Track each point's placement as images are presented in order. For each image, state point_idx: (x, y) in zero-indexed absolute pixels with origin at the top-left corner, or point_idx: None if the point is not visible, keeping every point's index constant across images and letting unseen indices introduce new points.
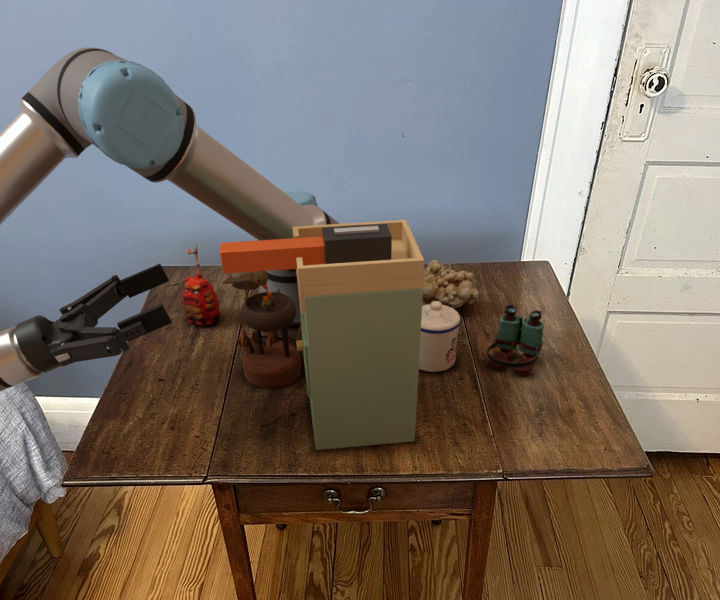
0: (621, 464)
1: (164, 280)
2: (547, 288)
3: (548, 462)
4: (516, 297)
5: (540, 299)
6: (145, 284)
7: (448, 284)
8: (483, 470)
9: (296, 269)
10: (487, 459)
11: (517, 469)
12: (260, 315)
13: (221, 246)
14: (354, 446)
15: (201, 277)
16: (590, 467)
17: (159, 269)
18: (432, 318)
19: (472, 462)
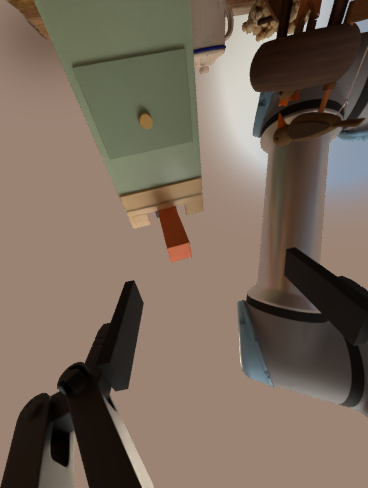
0: (49, 37)
1: (289, 256)
2: (245, 13)
3: (42, 25)
4: (249, 6)
5: (236, 12)
6: (314, 284)
7: (267, 26)
8: (17, 8)
9: (173, 198)
10: (35, 9)
11: (27, 18)
12: (268, 89)
13: (183, 258)
14: None
15: None
16: (42, 33)
17: (286, 272)
18: (195, 63)
19: (27, 4)
